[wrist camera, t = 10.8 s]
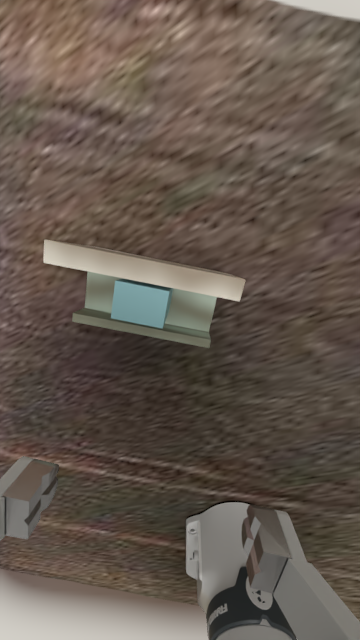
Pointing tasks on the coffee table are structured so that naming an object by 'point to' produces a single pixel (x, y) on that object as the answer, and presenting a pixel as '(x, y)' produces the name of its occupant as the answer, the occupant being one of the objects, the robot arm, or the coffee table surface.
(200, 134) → the coffee table surface
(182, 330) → the wall shelf
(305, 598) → the robot arm
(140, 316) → the teal rectangular block
